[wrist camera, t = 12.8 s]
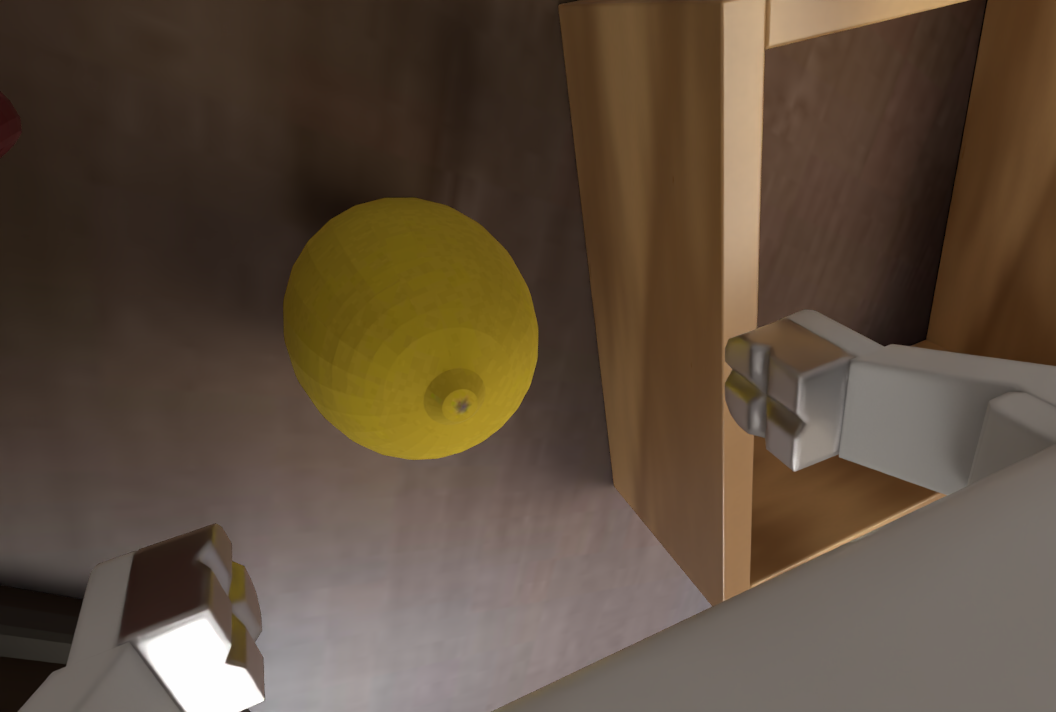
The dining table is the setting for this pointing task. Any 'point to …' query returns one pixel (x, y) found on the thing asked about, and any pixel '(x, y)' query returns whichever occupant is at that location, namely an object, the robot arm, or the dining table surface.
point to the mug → (8, 125)
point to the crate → (733, 258)
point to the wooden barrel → (33, 641)
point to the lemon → (410, 328)
